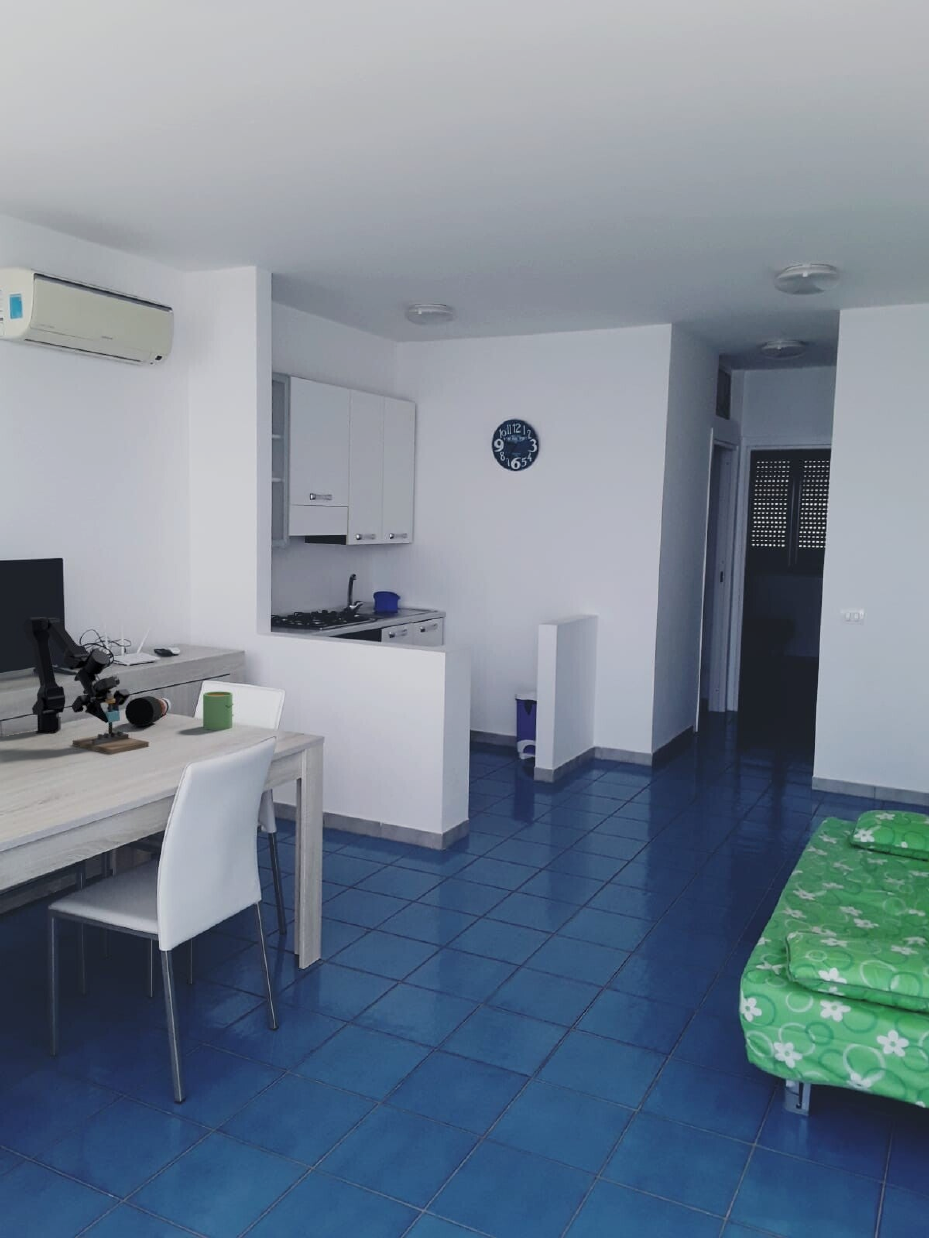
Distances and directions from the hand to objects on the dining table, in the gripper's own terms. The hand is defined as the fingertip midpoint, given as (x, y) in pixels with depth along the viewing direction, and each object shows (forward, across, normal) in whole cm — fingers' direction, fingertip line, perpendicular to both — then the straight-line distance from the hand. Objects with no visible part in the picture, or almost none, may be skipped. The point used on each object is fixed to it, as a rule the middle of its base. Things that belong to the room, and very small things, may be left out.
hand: (113, 721), depth 319 cm
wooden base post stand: (+5, 0, +7) cm, 8 cm away
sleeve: (-1, 0, +1) cm, 1 cm away
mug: (+7, +43, +5) cm, 44 cm away
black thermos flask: (-12, +37, +25) cm, 46 cm away
